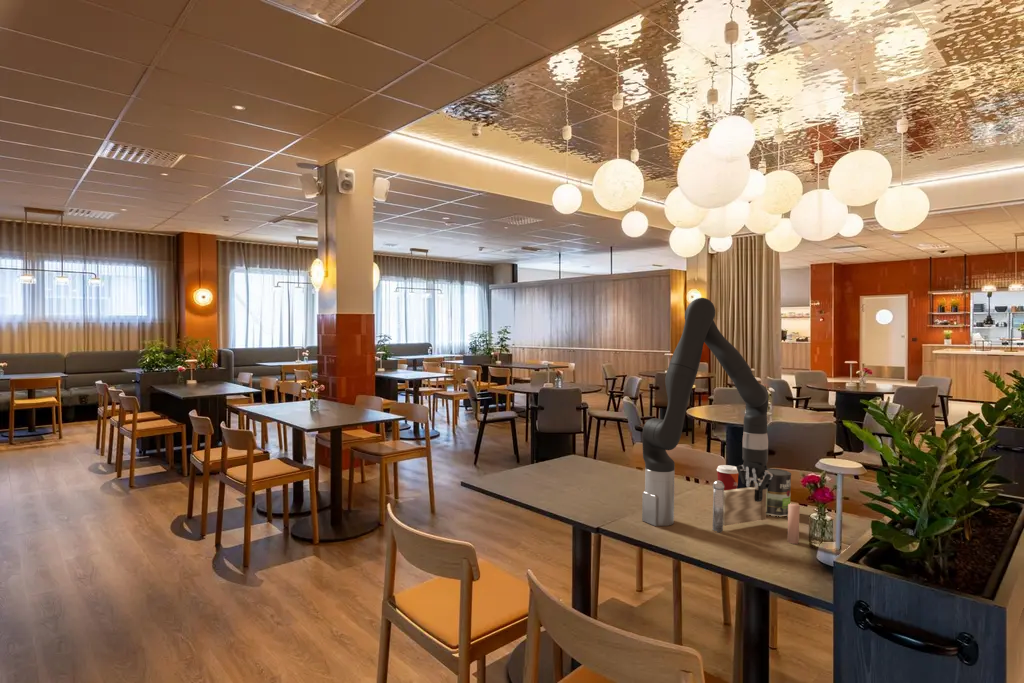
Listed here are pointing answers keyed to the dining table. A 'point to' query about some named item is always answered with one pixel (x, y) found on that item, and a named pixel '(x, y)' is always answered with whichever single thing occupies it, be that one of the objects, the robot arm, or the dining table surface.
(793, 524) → the post
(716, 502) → the hinge post
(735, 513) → the light wood flat panel
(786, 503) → the coffee can
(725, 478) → the paper cup
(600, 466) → the dining table surface
